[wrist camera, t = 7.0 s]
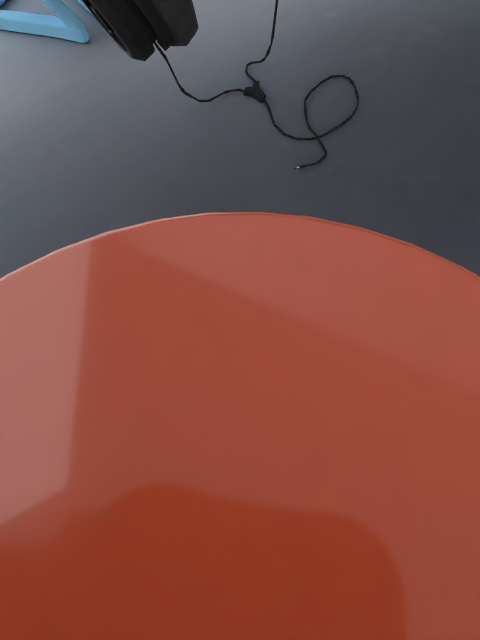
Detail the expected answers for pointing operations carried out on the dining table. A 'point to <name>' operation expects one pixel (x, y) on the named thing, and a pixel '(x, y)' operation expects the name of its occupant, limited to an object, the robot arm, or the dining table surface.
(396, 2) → the dining table surface
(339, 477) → the terracotta tumbler
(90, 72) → the dining table surface
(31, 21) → the chair
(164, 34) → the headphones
